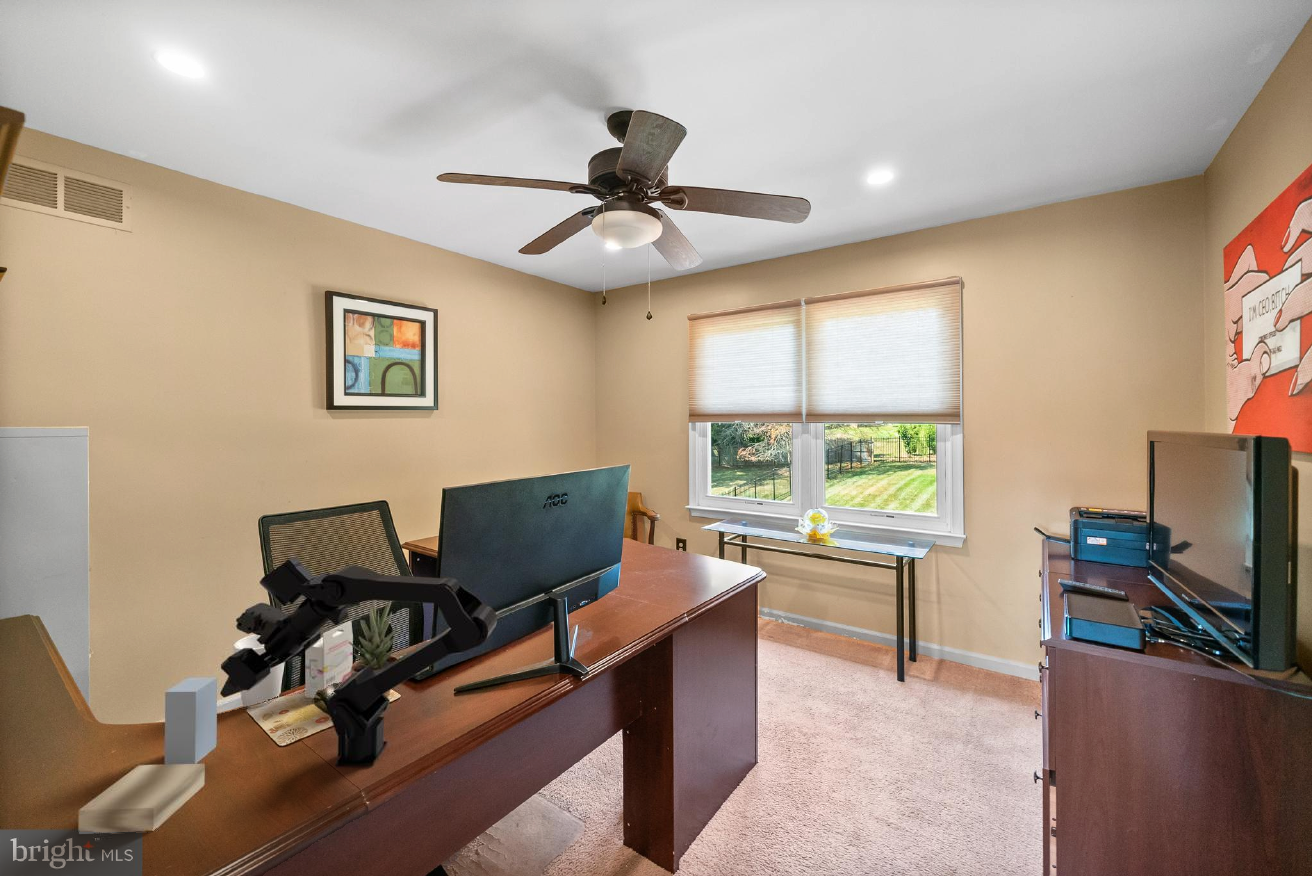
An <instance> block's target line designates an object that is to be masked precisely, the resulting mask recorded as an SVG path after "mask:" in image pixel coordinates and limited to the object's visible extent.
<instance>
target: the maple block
mask: <svg viewBox="0 0 1312 876" xmlns="http://www.w3.org/2000/svg"><path fill="white" fill-rule="evenodd" d="M205 767H206V766H205V763H196V764H167V765H165V764H139V765H137V766H135V767H134V768H133V769H132V770H131V771H130V772H128V773H127V774H125V775H124V776H122V777H121V778H120V779H118V780H117V781H116V782H114V783H113V784H112V785H111V786H109V787H107V788H106V789H105V790H104V791H103V792H101V793H100V794H99V795H97V796H96V797H94V798H93V799H92V800H90V801H89V802H88V803H86V804H85V805H84V806H82V807H81V808H80V809H78V826H77V827H78V829H77V830H78V831H79V830H80V831H93V832H102V833H103V832H105V833H106V832H123V831H143V830H144V831H145V830H150V831H151V830H152V831H154V830H155V829H156V828H157V829H158V828H159V827H160V826H162V824H164V823H165V821H166V822H167V820H168V819H169V818H170V817H171V816H172V815H174V813H176V812H177V811H178V810H179V809H180V808H181V807H182V806H183V805H185V803H186V802H187V801H188V800H190V799H191V798H192V797H193V796H194V795H195V794H197V792H198V791H200V790H201V789H202V788H203V787H204V786H205V771H206V769H205ZM157 829H156V830H157ZM156 830H155V831H156ZM78 831H77V832H78ZM155 831H154V832H155Z"/></svg>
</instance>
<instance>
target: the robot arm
mask: <svg viewBox="0 0 1312 876" xmlns="http://www.w3.org/2000/svg"><path fill="white" fill-rule="evenodd" d="M259 585H260V586H262V587H263V588H264V590H265V591H267V592H268V593H269V594H270V595H271V596H272V597H273V598H274V600H276V601H277V602H278V603H279V604H280V605H281V606H283V607H286V606H287V605H289V604H290V605H291V606H294V605H296V604H298V603H299V602H301V603H299V604H298V605H297V607H295V608H294V610H292V611H291V612H290V613H289V614H287V613H285V612H284V611H283V610H282V609H279V608H277V607H275V606H272V605H271V604H269V603H265V602H259V603H256V604H255V605H252V606H250V607H248V608H246V609H245V611H244V612H242V613H241V614H240V616H238V617H237V618H236V620H235V621H236V625H235V626H236V629H237V630H238V631H240V632H243V633H245V634H247V635H249V634H250V635H251V634H253V635H254V634H256V635H260V637H259V638H258V639H257V641H258V642H259V643H260V644H261V645H262V644H264V649H265V651H266V652H264V653H263V654H261V655H259V654H258V653H257V652H256V651H254V650H253V649H252V648H243V649H242V650H240V651H238V652H236V653H235V654H234V653H232V654H231V655H230V656H228V657H227V658H226V659H225V660H224V661H223V662H222V663H221V664H220V669H221V670H222V671H223V672H224V673H225V674H226V675H227V678H226V681H225V683H224V684H223V687H222V688H221V691H220V693H219V694H220V695H221V696H222V697H223V698H226V697H230V696H232V695H235V694H238V693H241V691H244V690H250V689H251V688H253V687H254V686H256V685H257V684H258V683H260V682H261V681H262V680H263V679H265V678H266V677H267V676H268V675H269V674H270V669H271V668H273V667H275V666H277V665H279V664H281V663H283V662H285V663H286V662H287V661H289V660H292V659H294V658H296V657H298V656H301V655H302V654H303V653H304V652H305V651H306V650H308V649H309V648H310V647H312V646H313V645H315V644H316V643H317V642H318V641H319V640H320V639H321V638H322V637H321V629H322V628H324V626H326V624H328V622H332V624H333V625H335V626H339V625H341V624H342V623H343V622H344V621H345V620H347V619H348V618H349V611H348V608H349V607H348V606H349V605H350V606H351V605H355V604H359V603H364V602H369V601H372V600H375V601H381V602H382V601H383V602H386V601H387V602H388V601H391V602H404V603H418V604H420V603H422V604H434V605H436V606H437V608H438V609H439V610H440V611H441V612H440V613H441V614H442V616H443V618H444V620H445V622H446V624H447V626H448V627H449V628H446V630H445V631H444V632H442V633H440V634H439V635H436V636H435V637H434V638H432V639H430V640H428V641H426V642H425V643H423V644H422V645H419V646H418V647H416V648H415V649H413V650H411V651H409V652H407V653H406V654H404V655H403V656H401V657H398V660H396V661H394V662H392V663H391V664H389V665H387V666H386V667H384V668H382V669H379V670H373V669H372V667H371V665H370V664H369V665H368V666H367V667H366V668H364V669H363V670H362V671H360V672H357V673H353V674H352V675H351V676H350V677H348V678H347V679H346V680H345V681H344V682H343V683H342V684H341V685H339V686H338V687H337V688H336V689H335V690H334V691H333V692H334V693H333V694H332V695H331V696H330V697H329V699H328V700H327V703H326V712H327V714H328V716H329V718H330V721H331V722H332V725H333V728H334V731H335V733H336V735H337V757H338V760H336V761H335V767H371V766H373V765H374V764H375V763H376V762H377V760H378V759H379V757H380V756H381V754H383V753H382V752H383V751H384V750H385V749H386V747H387V746H388V741H386V740H385V741H384V735H385V734H384V733H385V731H384V730H385V716H382V715H383V713H384V712H386V711H387V709H388V707H389V705H390V701H391V700H390V698H388V697H386V696H385V695H384V693H386V692H387V691H389V690H391V691H392V689H394V688H396V687H397V686H399V685H401V684H402V683H404V682H406V681H407V680H409V679H411V678H413V677H414V676H416V675H418V674H419V673H421V672H423V671H425V670H426V669H428V668H430V667H431V666H433V665H435V664H436V663H439V662H440V661H441V660H444V659H445V658H446V657H448V656H450V655H451V656H452V655H456V654H457V655H458V654H463V653H466V652H468V651H471V650H474V649H476V648H478V647H481V646H482V645H483V644H484V643H485V642H486V640H487V639H488V638H489V637H490V635H491V634H492V632H493V630H494V629H495V628H496V626H497V621H498V616H497V614H496V611H495V610H494V609H493V608H492V607H491V606H489V605H487V604H485V603H484V602H483V601H482V599H481V598H480V597H479V596H477V594H474V593H473V592H472V591H470V590H469V589H467V588H465V587H464V586H463V585H462V584H461V582H459V580H458V579H457V578H454V577H443V578H441V577H425V576H407V575H405V576H404V575H394V574H392V575H389V574H383V573H377V572H376V571H374V570H373V569H371V568H366V567H362V566H358V565H346V566H344V567H342V568H340V569H337V570H336V571H334V572H326V573H323V574H321V575H318V576H314V575H313V574H312V573H311V572H310V571H309V570H308V569H307V568H306V567H305V566H304V565H303V564H302V562H301V561H300V560H299V559H298V558H297V556H293V557H290V558H288V559H287V560H285V562H284V563H282V564H280V565H278V567H276V568H274V569H273V570H271V571H270V572H268V573H266V574H265V575H264V576H263V577H262V578H261V579H260V580H259ZM303 599H304V600H303ZM302 600H303V601H302Z"/></svg>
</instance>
